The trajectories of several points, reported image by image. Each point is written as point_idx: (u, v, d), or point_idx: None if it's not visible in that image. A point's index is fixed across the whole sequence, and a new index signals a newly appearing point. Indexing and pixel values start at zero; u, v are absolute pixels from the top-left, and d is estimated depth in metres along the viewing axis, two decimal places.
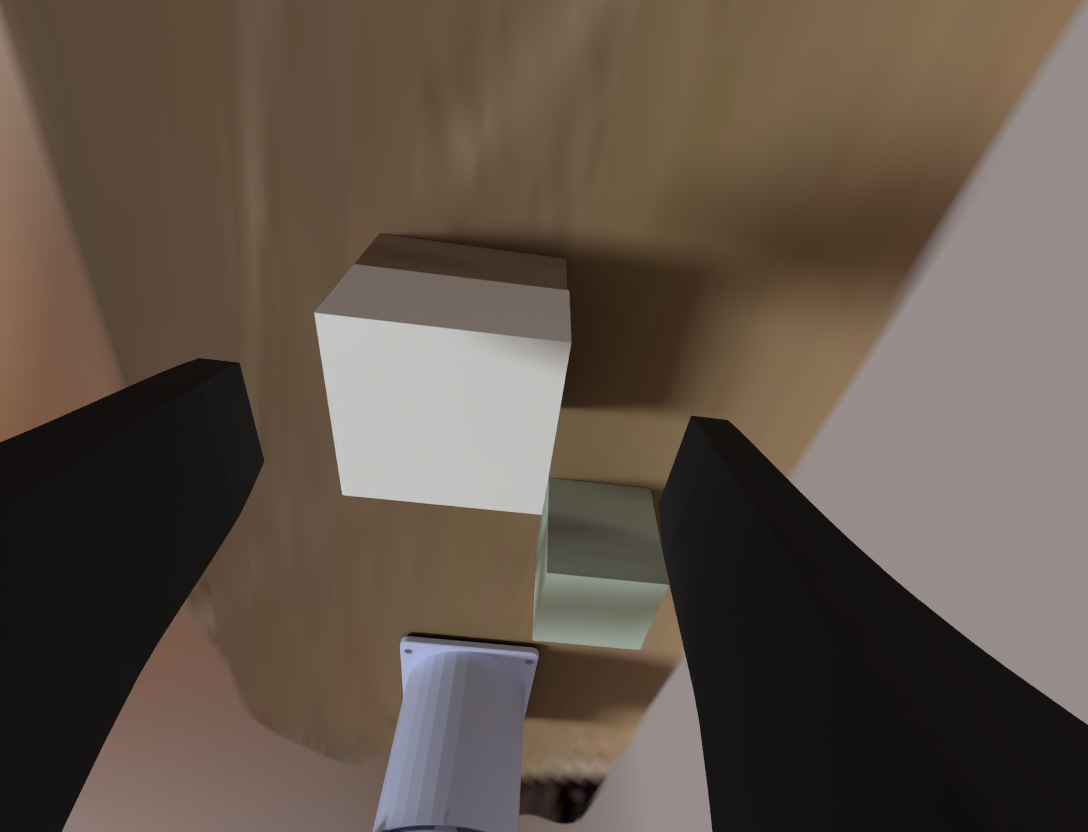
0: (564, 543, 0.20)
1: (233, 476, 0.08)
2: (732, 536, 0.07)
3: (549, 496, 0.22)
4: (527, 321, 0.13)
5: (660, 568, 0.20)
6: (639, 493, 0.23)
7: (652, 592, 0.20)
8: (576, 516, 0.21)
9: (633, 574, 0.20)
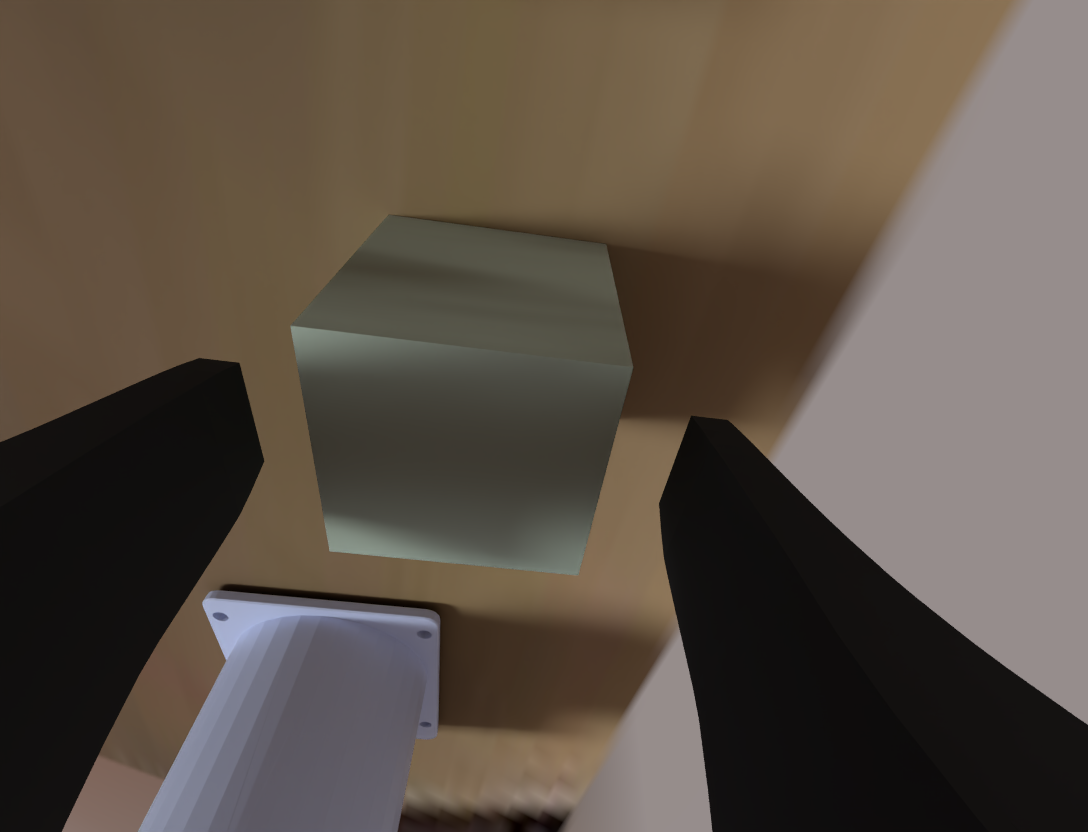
0: (372, 288, 0.08)
1: (233, 476, 0.08)
2: (732, 536, 0.07)
3: (375, 232, 0.10)
4: None
5: (613, 340, 0.08)
6: (581, 246, 0.11)
7: (591, 396, 0.07)
8: (424, 258, 0.09)
9: (538, 343, 0.07)
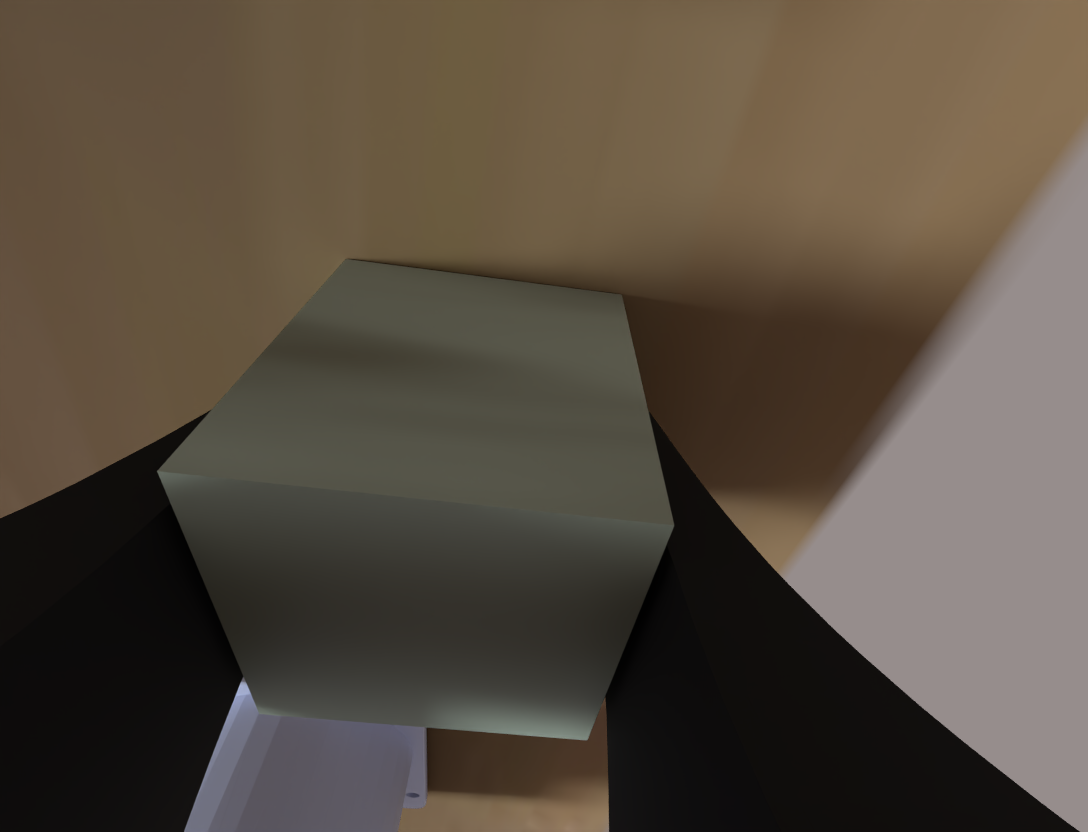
0: (299, 387, 0.06)
1: None
2: None
3: (322, 289, 0.08)
4: None
5: (642, 470, 0.05)
6: (591, 301, 0.08)
7: (610, 558, 0.05)
8: (382, 330, 0.07)
9: (533, 485, 0.05)
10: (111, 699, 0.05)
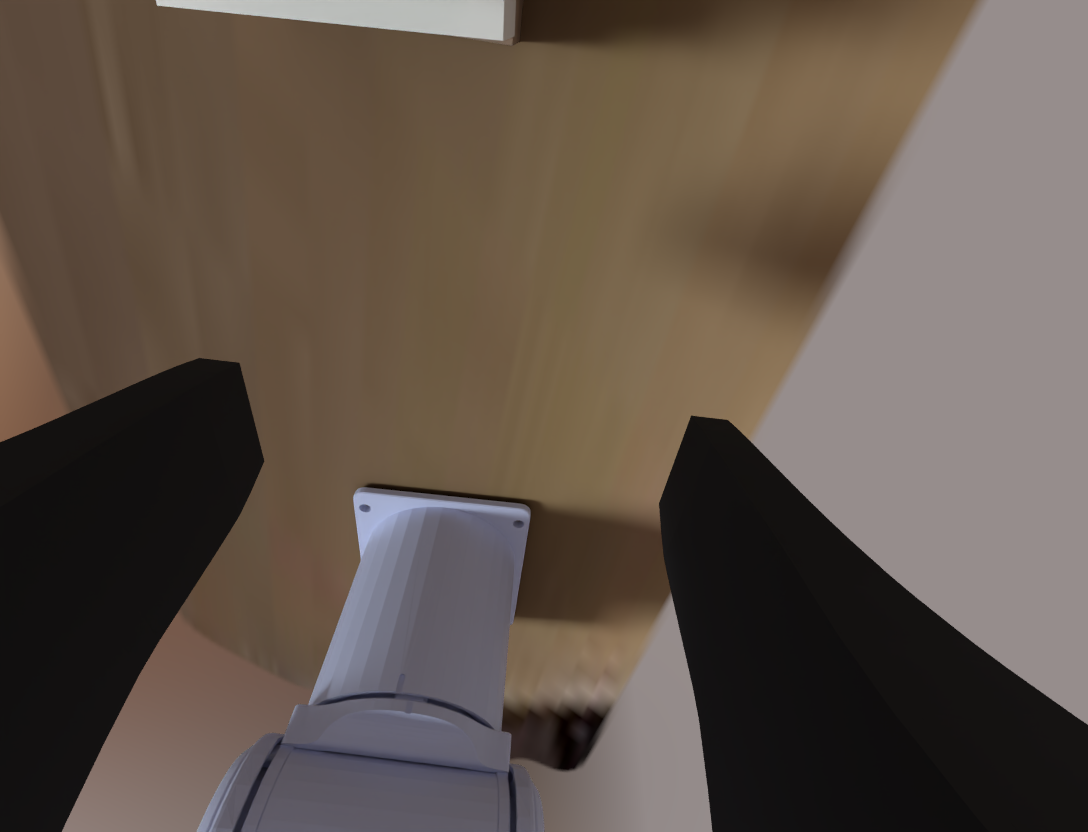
0: None
1: (233, 476, 0.08)
2: (732, 536, 0.07)
3: None
4: None
5: None
6: None
7: None
8: None
9: None
10: None
